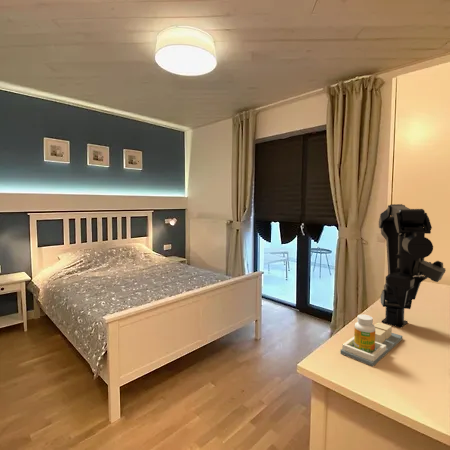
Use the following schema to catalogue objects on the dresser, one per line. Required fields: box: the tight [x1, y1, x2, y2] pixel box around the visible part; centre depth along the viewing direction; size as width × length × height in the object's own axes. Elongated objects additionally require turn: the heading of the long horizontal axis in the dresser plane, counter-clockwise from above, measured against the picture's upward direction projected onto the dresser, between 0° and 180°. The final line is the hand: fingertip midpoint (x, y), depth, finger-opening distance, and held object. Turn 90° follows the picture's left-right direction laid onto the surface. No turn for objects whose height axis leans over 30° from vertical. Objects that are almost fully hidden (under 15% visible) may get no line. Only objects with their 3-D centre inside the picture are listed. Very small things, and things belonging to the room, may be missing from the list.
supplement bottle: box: [353, 313, 375, 354], centre depth 82 cm, size 5×5×10 cm
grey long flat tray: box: [340, 322, 403, 367], centre depth 86 cm, size 22×9×4 cm, turn 131°
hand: (407, 302), depth 86 cm, fingers open, 9 cm apart
